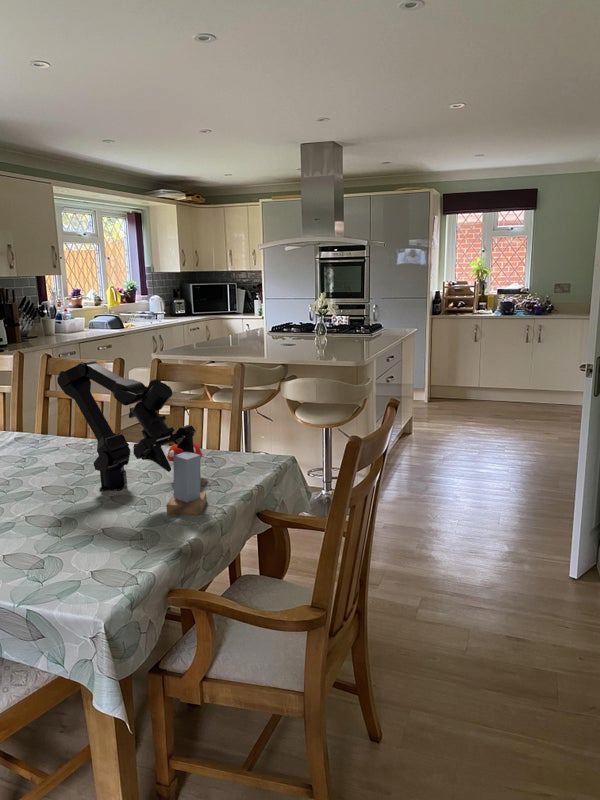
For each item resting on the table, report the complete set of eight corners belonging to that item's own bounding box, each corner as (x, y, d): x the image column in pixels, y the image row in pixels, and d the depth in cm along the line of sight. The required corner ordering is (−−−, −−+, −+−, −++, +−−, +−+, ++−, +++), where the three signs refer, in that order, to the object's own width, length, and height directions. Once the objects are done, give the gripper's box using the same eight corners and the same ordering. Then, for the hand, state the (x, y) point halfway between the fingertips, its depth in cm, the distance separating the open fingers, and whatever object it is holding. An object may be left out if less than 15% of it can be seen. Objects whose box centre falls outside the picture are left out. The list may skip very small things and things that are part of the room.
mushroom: (188, 485, 178) (186, 446, 176) (160, 479, 183) (158, 442, 181) (210, 474, 187) (208, 437, 185) (183, 469, 192) (181, 433, 190)
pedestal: (167, 515, 158) (166, 505, 157) (174, 502, 166) (173, 492, 166) (201, 515, 157) (200, 504, 157) (206, 502, 166) (206, 492, 166)
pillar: (173, 498, 161) (173, 455, 158) (187, 492, 165) (187, 451, 162) (187, 502, 158) (186, 459, 155) (200, 497, 162) (200, 455, 160)
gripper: (162, 430, 175) (191, 472, 172) (111, 445, 160) (142, 492, 156) (180, 407, 169) (211, 450, 166) (129, 421, 154) (162, 469, 150)
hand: (182, 466), depth 160 cm, fingers open, 9 cm apart
